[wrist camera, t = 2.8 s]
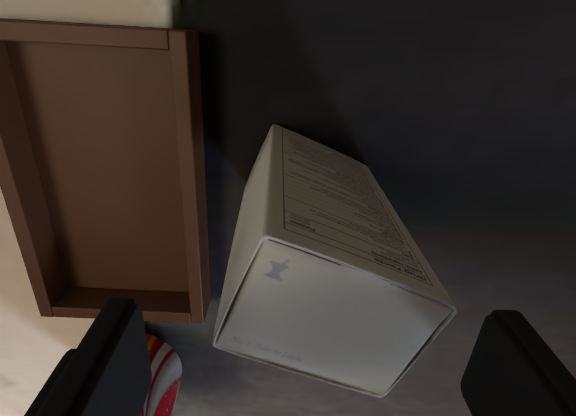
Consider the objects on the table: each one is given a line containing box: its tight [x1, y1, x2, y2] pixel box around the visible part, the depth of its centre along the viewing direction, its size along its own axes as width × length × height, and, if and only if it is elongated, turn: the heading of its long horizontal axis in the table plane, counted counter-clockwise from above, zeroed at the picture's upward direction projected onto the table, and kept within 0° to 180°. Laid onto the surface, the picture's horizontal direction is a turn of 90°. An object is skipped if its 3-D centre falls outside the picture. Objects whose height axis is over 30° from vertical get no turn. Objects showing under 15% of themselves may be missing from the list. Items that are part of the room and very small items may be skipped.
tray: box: [0, 18, 211, 323], centre depth 21 cm, size 10×17×2 cm, turn 177°
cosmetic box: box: [212, 124, 457, 398], centre depth 16 cm, size 6×4×12 cm
